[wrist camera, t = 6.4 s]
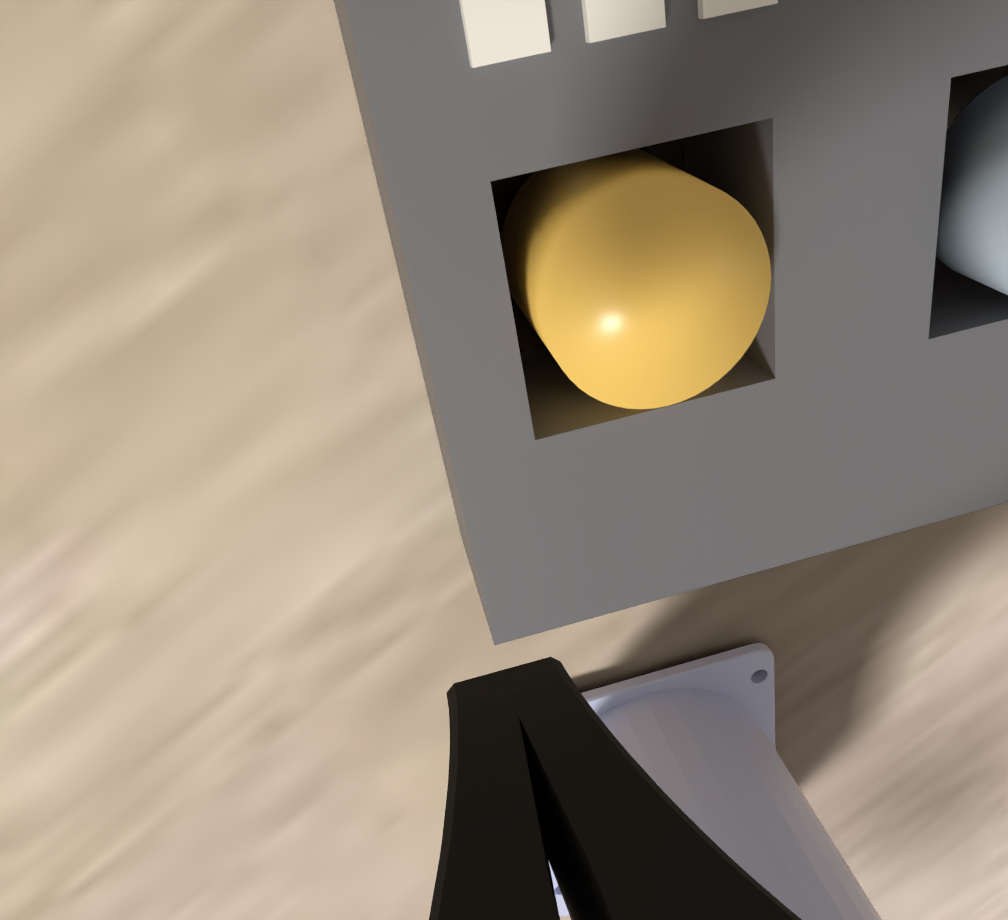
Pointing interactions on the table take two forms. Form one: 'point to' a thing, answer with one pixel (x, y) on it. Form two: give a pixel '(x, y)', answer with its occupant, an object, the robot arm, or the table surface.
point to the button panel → (792, 300)
